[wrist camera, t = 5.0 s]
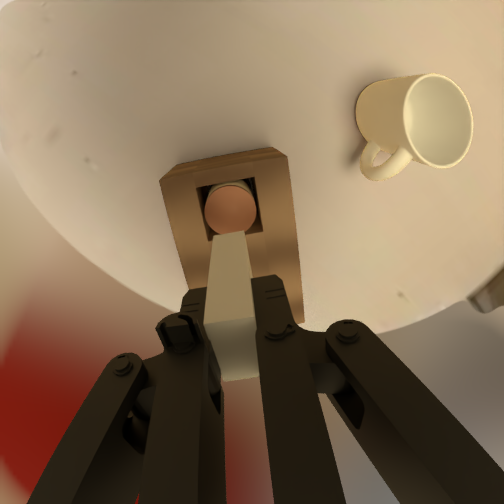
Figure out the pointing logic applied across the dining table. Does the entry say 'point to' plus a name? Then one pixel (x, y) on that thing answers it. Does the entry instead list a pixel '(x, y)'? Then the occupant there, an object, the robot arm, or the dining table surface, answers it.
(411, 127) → the mug
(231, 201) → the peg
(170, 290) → the dining table surface
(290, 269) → the socket block
